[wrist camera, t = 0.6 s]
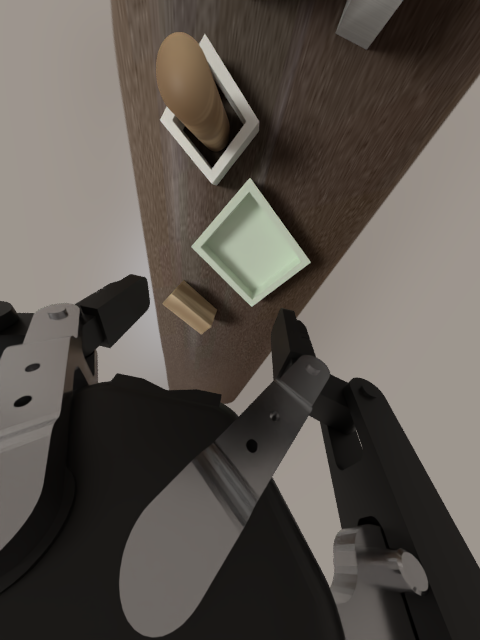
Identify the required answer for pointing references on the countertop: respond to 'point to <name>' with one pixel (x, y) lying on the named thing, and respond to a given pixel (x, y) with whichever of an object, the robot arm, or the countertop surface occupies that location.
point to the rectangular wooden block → (191, 307)
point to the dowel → (192, 90)
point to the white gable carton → (365, 20)
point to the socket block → (239, 107)
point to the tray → (250, 246)
